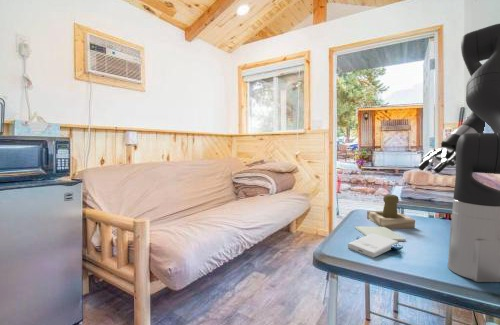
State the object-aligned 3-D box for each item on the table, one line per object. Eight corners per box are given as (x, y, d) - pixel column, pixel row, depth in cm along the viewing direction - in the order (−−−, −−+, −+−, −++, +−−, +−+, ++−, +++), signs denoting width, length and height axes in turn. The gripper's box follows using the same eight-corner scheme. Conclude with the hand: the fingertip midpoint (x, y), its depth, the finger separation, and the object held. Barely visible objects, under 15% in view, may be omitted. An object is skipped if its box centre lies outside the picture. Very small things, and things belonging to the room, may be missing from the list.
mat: (405, 241, 83) (405, 239, 83) (371, 240, 83) (371, 238, 83) (385, 228, 95) (385, 226, 95) (355, 228, 95) (355, 226, 94)
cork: (401, 225, 99) (403, 196, 98) (385, 225, 99) (387, 196, 98) (393, 220, 105) (394, 193, 104) (377, 220, 105) (379, 193, 104)
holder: (414, 228, 96) (415, 219, 96) (382, 227, 96) (382, 219, 96) (395, 218, 108) (396, 211, 108) (366, 218, 108) (367, 210, 108)
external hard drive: (398, 246, 77) (374, 258, 70) (372, 237, 83) (347, 247, 76) (398, 241, 76) (374, 252, 70) (372, 232, 83) (347, 242, 76)
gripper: (439, 133, 106) (409, 161, 106) (469, 132, 91) (434, 165, 92) (451, 146, 106) (421, 174, 107) (483, 148, 92) (448, 180, 93)
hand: (427, 170), depth 99 cm, fingers open, 8 cm apart
